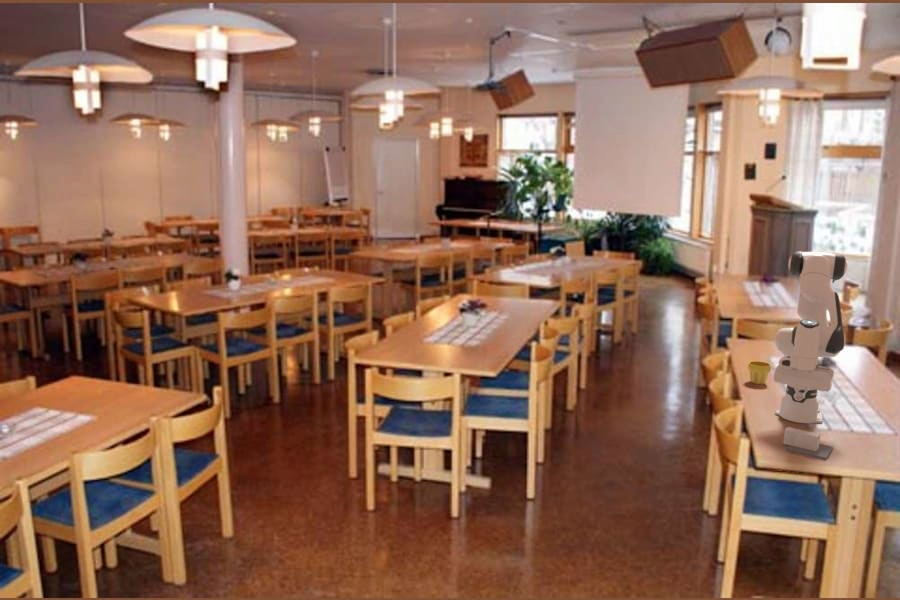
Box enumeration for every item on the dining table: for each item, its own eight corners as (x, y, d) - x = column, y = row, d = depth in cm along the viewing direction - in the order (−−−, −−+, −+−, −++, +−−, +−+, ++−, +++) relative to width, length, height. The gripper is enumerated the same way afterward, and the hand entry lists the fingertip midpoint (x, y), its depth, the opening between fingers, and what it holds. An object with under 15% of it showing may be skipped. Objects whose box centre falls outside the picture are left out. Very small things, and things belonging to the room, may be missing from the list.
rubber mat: (794, 440, 309) (794, 438, 309) (832, 449, 301) (833, 446, 301) (786, 451, 298) (786, 448, 298) (826, 460, 290) (826, 457, 290)
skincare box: (785, 440, 306) (819, 448, 299) (782, 444, 302) (816, 452, 295) (787, 425, 304) (821, 433, 297) (784, 429, 301) (818, 437, 294)
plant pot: (755, 378, 394) (757, 359, 392) (773, 383, 385) (775, 364, 383) (742, 381, 389) (744, 362, 387) (759, 386, 380) (761, 367, 378)
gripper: (836, 365, 293) (831, 400, 296) (778, 356, 304) (774, 390, 307) (833, 369, 288) (828, 405, 291) (774, 359, 299) (770, 394, 302)
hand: (800, 397), depth 299 cm, fingers closed
